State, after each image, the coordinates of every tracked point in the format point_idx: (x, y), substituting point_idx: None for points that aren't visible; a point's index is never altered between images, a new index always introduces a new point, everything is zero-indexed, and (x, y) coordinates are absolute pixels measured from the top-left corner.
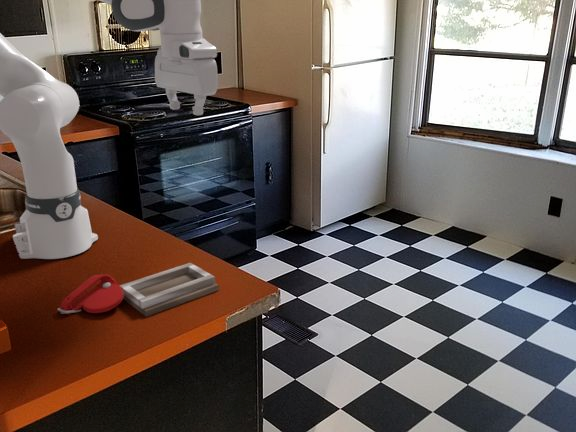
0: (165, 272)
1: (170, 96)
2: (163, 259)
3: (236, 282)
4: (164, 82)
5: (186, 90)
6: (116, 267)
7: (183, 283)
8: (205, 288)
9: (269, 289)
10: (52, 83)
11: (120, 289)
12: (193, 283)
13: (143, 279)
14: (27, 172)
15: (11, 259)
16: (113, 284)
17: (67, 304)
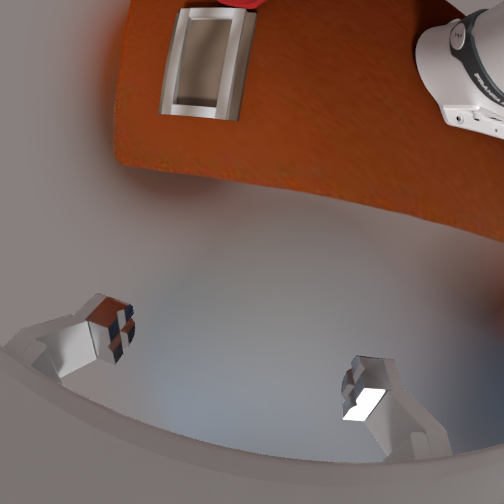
0: (227, 72)
1: (405, 422)
2: (308, 129)
3: (161, 145)
4: (452, 497)
5: (48, 392)
6: (343, 67)
7: (198, 82)
8: (163, 94)
9: (121, 161)
10: None
11: (229, 2)
12: (167, 79)
13: (234, 38)
14: None
15: None
16: (249, 1)
17: None
